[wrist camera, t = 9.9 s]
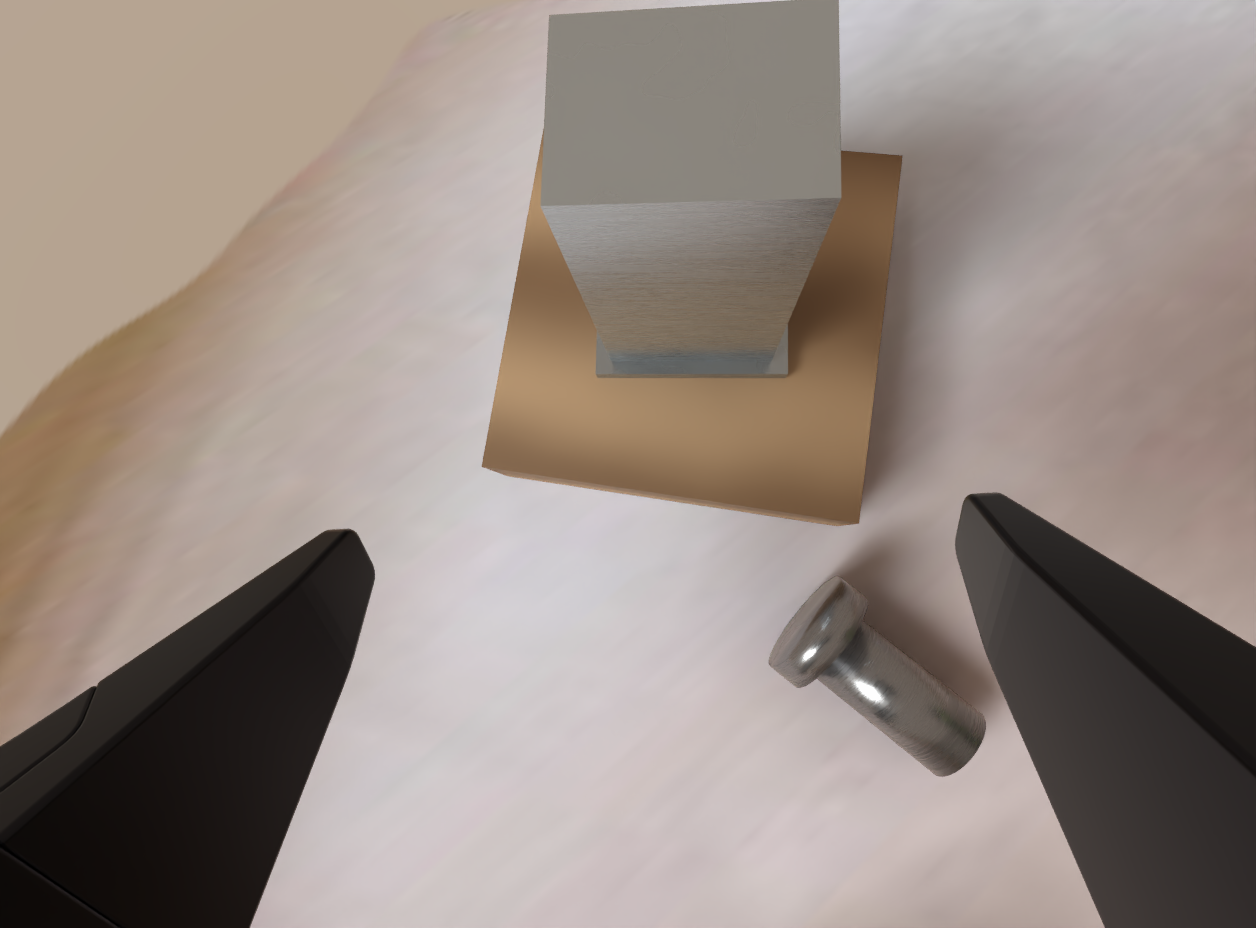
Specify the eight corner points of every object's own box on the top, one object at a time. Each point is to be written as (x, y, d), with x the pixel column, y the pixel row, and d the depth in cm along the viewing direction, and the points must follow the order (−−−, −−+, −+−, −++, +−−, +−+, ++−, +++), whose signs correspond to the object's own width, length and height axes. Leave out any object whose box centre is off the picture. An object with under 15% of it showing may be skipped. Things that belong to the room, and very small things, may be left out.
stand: (836, 525, 22) (858, 523, 19) (508, 476, 24) (481, 466, 21) (876, 204, 24) (902, 155, 21) (561, 175, 25) (544, 126, 22)
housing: (785, 378, 20) (873, 220, 10) (597, 378, 21) (510, 228, 11) (785, 245, 21) (868, -26, 11) (602, 249, 21) (522, -4, 11)
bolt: (975, 689, 21) (1031, 718, 18) (909, 774, 21) (952, 821, 18) (827, 573, 22) (852, 579, 19) (763, 655, 22) (776, 676, 19)
